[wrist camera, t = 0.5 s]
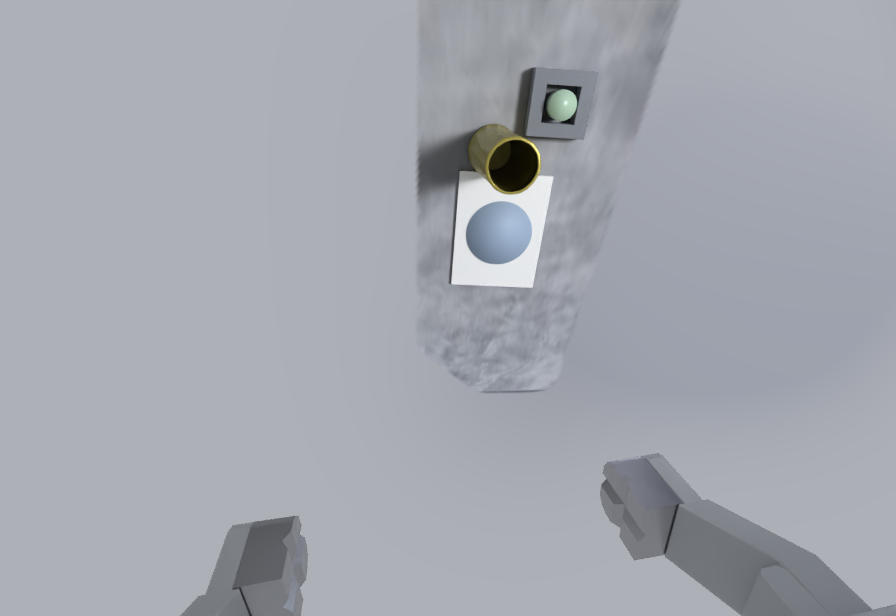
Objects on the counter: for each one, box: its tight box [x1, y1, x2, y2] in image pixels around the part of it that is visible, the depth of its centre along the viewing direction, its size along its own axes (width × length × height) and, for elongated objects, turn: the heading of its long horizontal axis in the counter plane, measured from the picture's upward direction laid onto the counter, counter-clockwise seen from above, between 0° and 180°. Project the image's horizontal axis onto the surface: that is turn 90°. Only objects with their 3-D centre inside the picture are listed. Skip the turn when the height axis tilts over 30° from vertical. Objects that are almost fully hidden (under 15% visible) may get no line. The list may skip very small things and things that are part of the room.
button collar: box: [524, 68, 598, 140], centre depth 48 cm, size 7×7×2 cm
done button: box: [546, 89, 577, 121], centre depth 47 cm, size 3×3×1 cm
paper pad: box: [451, 170, 553, 288], centre depth 56 cm, size 16×12×1 cm
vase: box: [468, 124, 541, 195], centre depth 44 cm, size 6×6×14 cm
